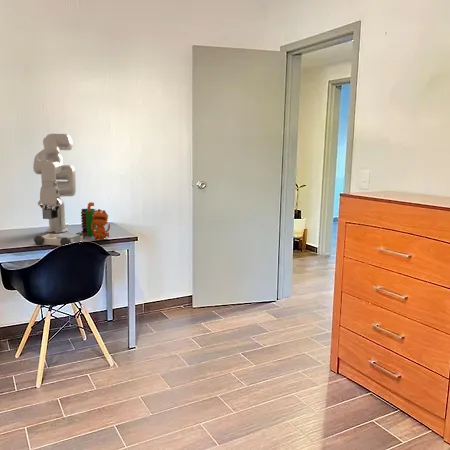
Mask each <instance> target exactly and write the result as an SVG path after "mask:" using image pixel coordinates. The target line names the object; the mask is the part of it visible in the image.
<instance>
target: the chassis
mask: <svg viewBox="0 0 450 450" xmlns="http://www.w3.org/2000/svg"><path fill="white" fill-rule="evenodd" d="M84 238H85V236H84V235H83V234H82V233H81V231H79V232H77V233H58V232H57V231H51V232H50V233H49V232H48V233H47V234H44V235H41V234H39V235H36V236H35V237H33V241H34V244H35V245H37V246H40V245H49V246H58V247H59V246H61V245H65V244H69V243H73V242H80V241H83V242H84ZM61 247H62V246H61Z"/></svg>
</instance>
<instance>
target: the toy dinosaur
mask: <svg viewBox="0 0 450 450" xmlns="http://www.w3.org/2000/svg"><path fill="white" fill-rule="evenodd" d="M95 210H96V211H95V212H93V215H92V217H93V218H94V220H93V221H92V223H91V229H92V230H93V231H94V232H93V235H92V236H91V237H92V238H94V239H95V240H97V239H102V240H105V239H104V238H109V237H110V234H109V231H110V229H111V224H110V223H109V222H108V219H109V214H108V213H107V212H106V210H103V209H95ZM93 224H94V225H95V226H96V230H95V228H94V227H93ZM107 224H108V226H107V227H108V228H107V229H106V228H105V226H106V225H107Z"/></svg>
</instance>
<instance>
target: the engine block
mask: <svg viewBox="0 0 450 450" xmlns="http://www.w3.org/2000/svg"><path fill="white" fill-rule="evenodd" d="M53 211H54V210H53V206H47V209H44V210H42V213H41V214H42V219H43V220H49V219H54V218H53ZM57 214H58V210H57ZM56 218H58V215H57V217H56Z"/></svg>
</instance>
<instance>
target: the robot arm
mask: <svg viewBox="0 0 450 450" xmlns="http://www.w3.org/2000/svg"><path fill="white" fill-rule="evenodd" d="M42 145H43V149H42V150H40V151H39V152H38V153H36V154H35V156H34V158H33V159H34V160H33V167H32V168H33V172H34V174H36V175H40V176H41V179H40V180H41V187H40V192H39V201H37V205H38V206H39V207H40V208H41V209H42V210H44V209H47V206H53V210H54V211H53V218H54V219H48V226H49V227H48V228H47V229H46V232H47V233H48V234H49V233H50V232H51V231H57V232H58V233H59V234H63V233H66V232H69V229H68V228H67V227H68V226H69V223H67V222H66V217H65V216H66V213H65V202H64V200H63V199H62V198H61V197H74V196H76V192H77V191H76V190H77V187H76V186H77V185H76V184H77V183H76V180H77V179H76V168H75V167H74V166H73V165H71V164H70V165H69V164H63V163H64V159H63V156H62V155H61V154H60V151H71V150H72V149H73V146H74V144H73V139H72V137H71V136H70V135H69V134H68V133H49V134H47V135H46V136H45V137H44V138H43V140H42ZM57 210H58V214H57ZM57 215H58V218H56V217H57Z"/></svg>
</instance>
